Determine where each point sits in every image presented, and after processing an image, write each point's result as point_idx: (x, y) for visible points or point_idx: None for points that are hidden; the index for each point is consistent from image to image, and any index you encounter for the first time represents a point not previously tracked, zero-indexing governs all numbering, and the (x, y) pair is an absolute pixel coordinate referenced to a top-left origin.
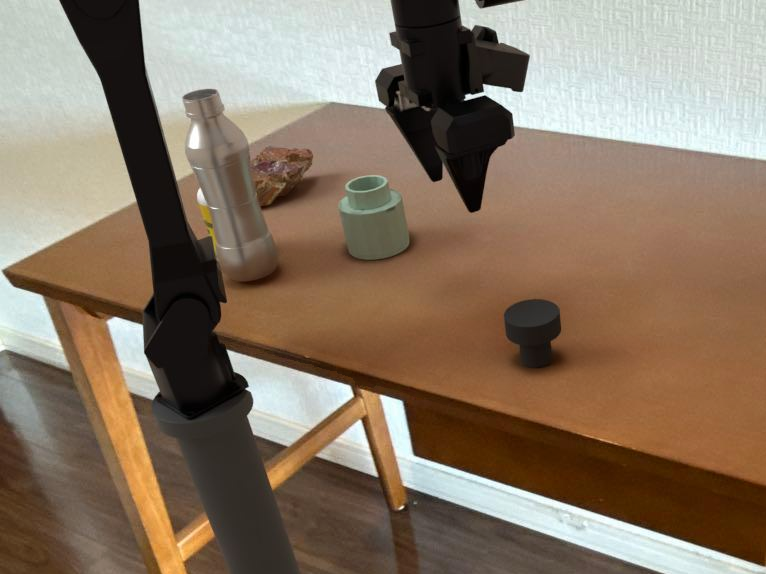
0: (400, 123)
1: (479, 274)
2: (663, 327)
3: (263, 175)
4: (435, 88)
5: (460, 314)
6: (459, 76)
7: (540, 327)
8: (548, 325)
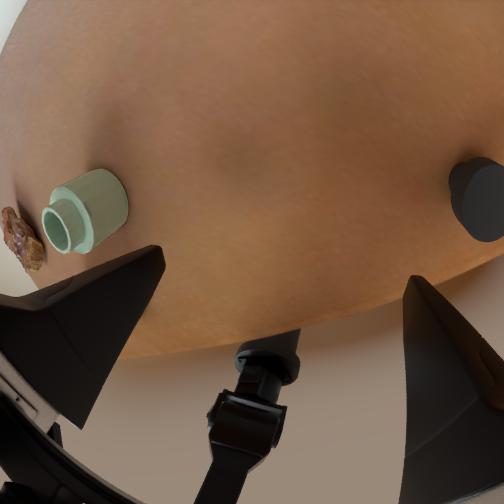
0: (88, 408)
1: (213, 121)
2: (485, 33)
3: (26, 253)
4: None
5: (306, 190)
6: None
7: None
8: None
